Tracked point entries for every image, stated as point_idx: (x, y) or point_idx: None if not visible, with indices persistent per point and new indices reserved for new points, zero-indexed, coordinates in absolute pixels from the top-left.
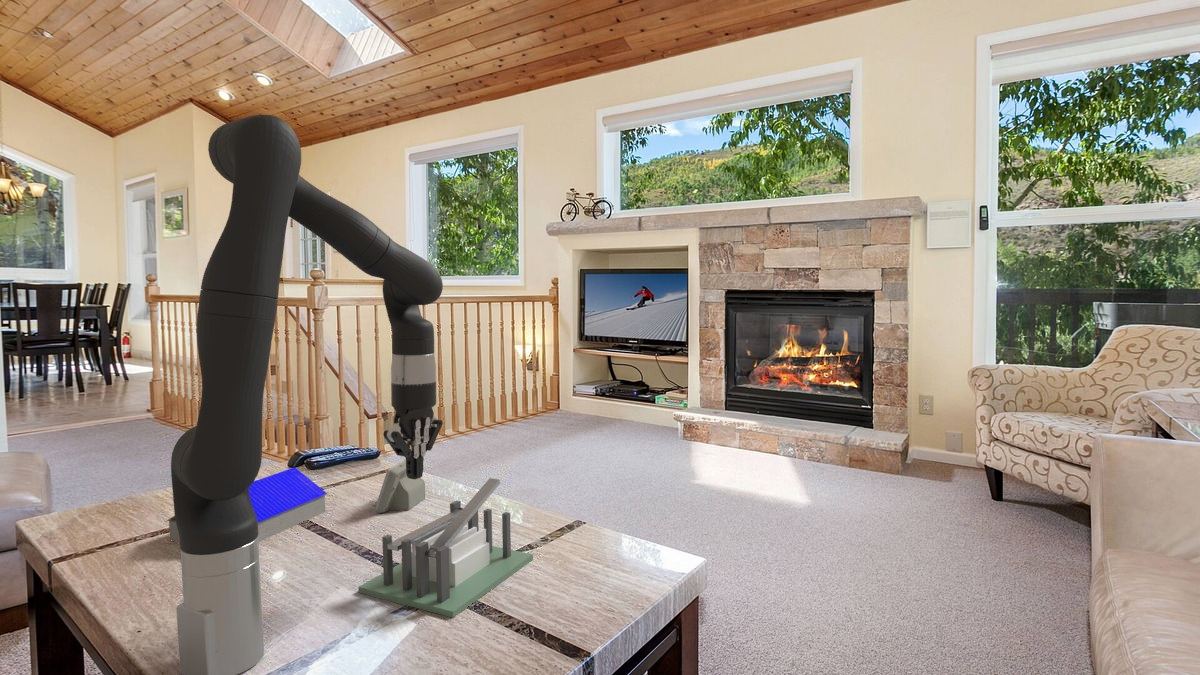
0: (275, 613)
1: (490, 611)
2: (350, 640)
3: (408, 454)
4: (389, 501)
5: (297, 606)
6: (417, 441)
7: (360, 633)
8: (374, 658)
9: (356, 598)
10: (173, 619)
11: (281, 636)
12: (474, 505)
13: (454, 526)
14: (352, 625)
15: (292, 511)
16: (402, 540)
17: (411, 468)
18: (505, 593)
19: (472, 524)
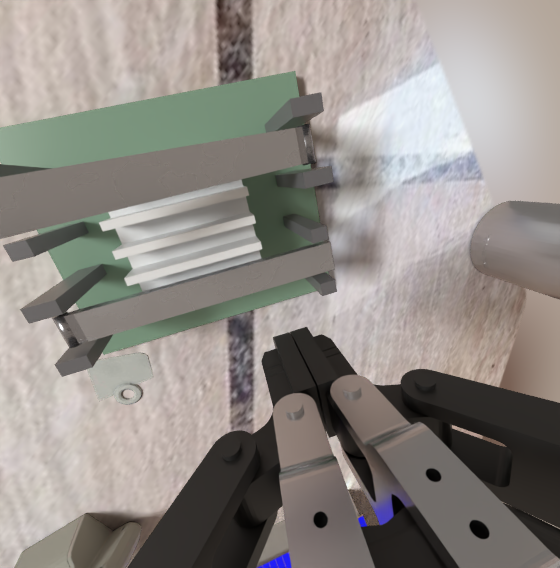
0: (415, 307)
1: (231, 24)
2: (415, 163)
3: (432, 378)
4: (114, 542)
5: (392, 305)
6: (421, 448)
7: (397, 169)
8: (430, 86)
9: (339, 269)
10: (468, 368)
11: (445, 247)
12: (115, 171)
13: (224, 159)
14: (389, 199)
15: (264, 557)
16: (303, 263)
17: (342, 356)
18: (160, 56)
19: (76, 283)
